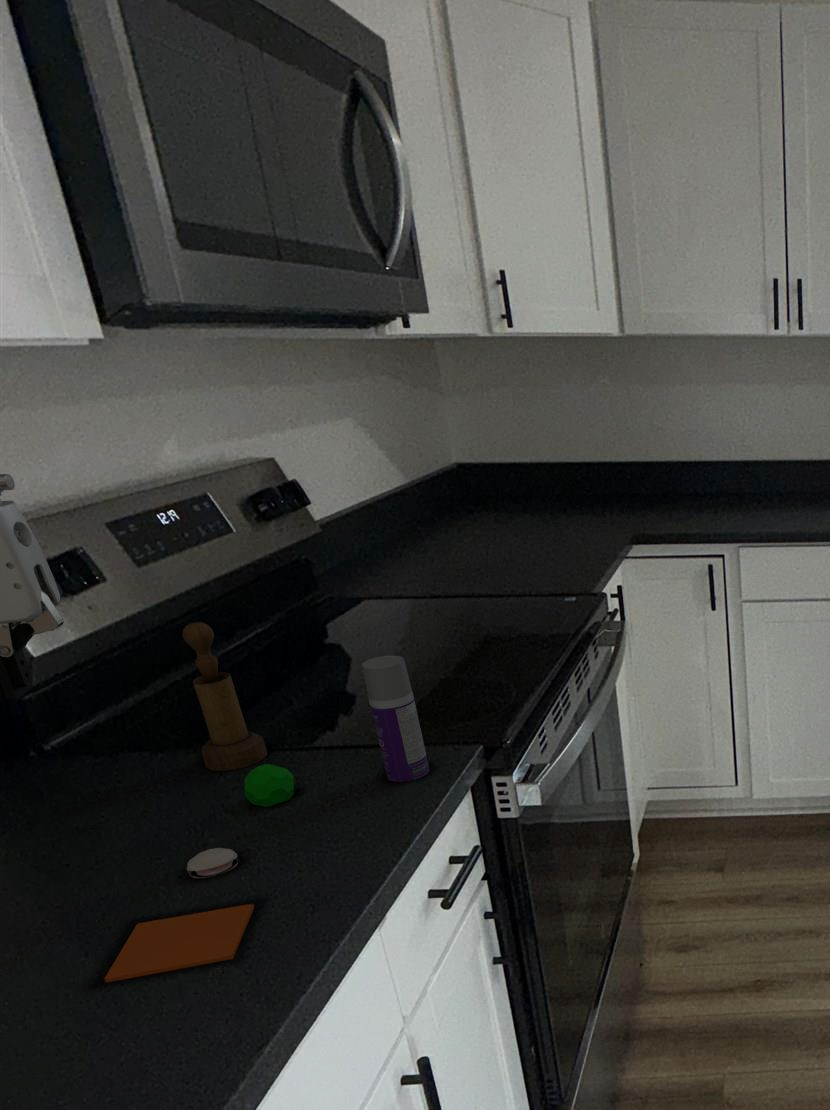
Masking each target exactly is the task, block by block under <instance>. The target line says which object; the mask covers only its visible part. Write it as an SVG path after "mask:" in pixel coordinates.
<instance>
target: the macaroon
mask: <svg viewBox="0 0 830 1110" xmlns="http://www.w3.org/2000/svg"><path fill="white" fill-rule="evenodd" d="M234 860H235V861H237V862H236V864H234V865H233V862H234ZM238 865H239V856H238V854H237V852H235V851H234V850H233V849H231V848H223V847H215V848H209V849H207V850H204V851H201V852H198V853H197V854H196V855H195V856H193V857H192V858H190V859H189V860H188V862H187V864H186V870H187V873H188V875H189V876H190V877H191V878H194V879H206V878H211V877H216V876H219V875H222V874H225V873H227V872H229V871H231V870H233V869H235V868H236V867H237V866H238ZM193 872H195V873H196V875H198V876H193V875H192V873H193Z"/></svg>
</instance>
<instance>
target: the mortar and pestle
mask: <svg viewBox="0 0 830 1110" xmlns="http://www.w3.org/2000/svg"><path fill="white" fill-rule="evenodd" d="M182 638H183V640H184V643H186V644H187V645H188V646H189V647H190V648H192V650H194V651H195V654H196V659H195V660H194V664H195V666H196V668H197V669H198V671H199V672H200V674H201V675H200V676H198V677H196V678H195V679H193V680H192V683H193V687H194V690H195V693H196V696H197V699H198V701H199V705H200V708H201V711H202V715H203V718H204V720H205V724H206V727H207V731H208V734H209V737H210V739H208V740H207V741H206V742H205V744H204V745H202V748H201V750H200V751H201V755H202V759H203V761H204V765H205V767H206V769H208V770H210V771H214V772H228V771H234V770H241V769H245V768H248V767H251V766H254V765H256V764H258V763H260V762H262V761H264V759H265V758H266V757H267V756H268V750H267V747H266V743H265V741H264V738H263V736H261V735H260V734H257V733H255V732H253V731H249V730H248V728H247V725H246V722H245V719H244V716H243V711H242V709H241V706H240V703H239V698H238V695H237V693H236V689H235V685H234V682H233V679H232V676H231V674H230V673H229V672H224V671H221V672H220V671H219V660H218V657H217V656H214V655H213V654H212V652H211V648H212V645H213V642H214V638H215V634H214V631H213V629H212V627H210V626H209V624H207V623H206V622H201V621H195V622H191V623H189V624H187V625H185V627H184V628H183V629H182Z"/></svg>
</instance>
